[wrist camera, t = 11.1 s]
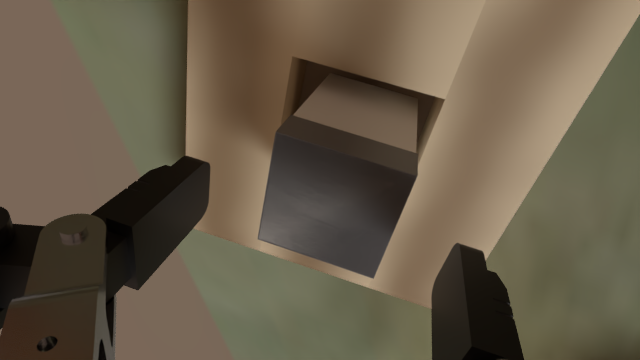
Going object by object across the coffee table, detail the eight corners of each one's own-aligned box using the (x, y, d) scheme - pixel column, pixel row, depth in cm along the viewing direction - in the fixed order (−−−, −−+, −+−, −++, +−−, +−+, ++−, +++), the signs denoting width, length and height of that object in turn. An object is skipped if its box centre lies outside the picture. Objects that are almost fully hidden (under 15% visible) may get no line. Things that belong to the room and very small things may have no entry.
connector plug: (419, 98, 18) (417, 176, 11) (389, 176, 20) (373, 278, 14) (329, 71, 18) (275, 131, 12) (310, 151, 21) (257, 239, 14)
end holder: (597, -6, 15) (647, 1, 12) (446, 266, 24) (451, 315, 20) (236, -95, 17) (189, -111, 13) (216, 191, 25) (184, 225, 22)
